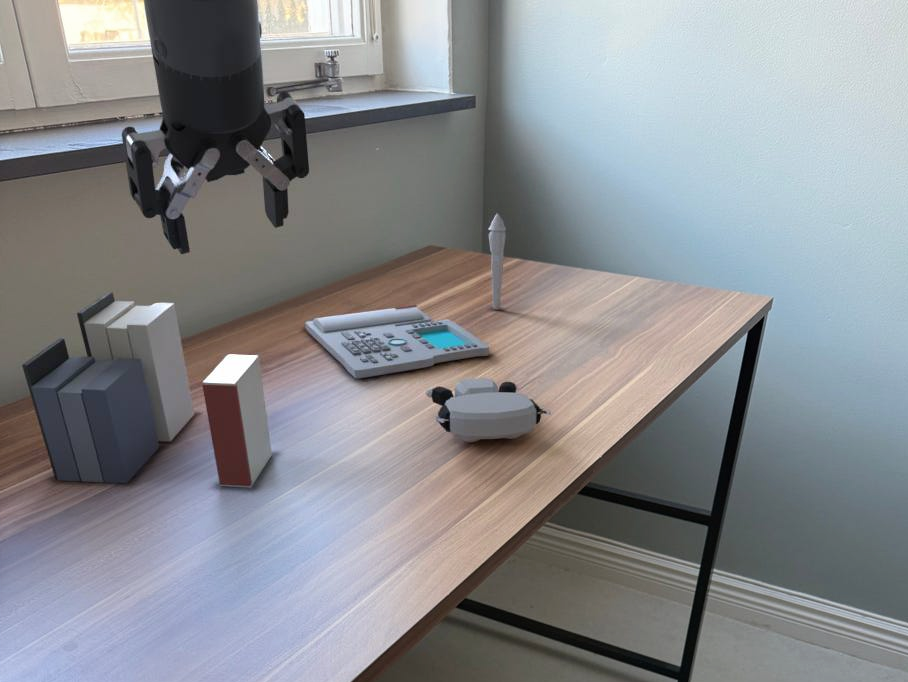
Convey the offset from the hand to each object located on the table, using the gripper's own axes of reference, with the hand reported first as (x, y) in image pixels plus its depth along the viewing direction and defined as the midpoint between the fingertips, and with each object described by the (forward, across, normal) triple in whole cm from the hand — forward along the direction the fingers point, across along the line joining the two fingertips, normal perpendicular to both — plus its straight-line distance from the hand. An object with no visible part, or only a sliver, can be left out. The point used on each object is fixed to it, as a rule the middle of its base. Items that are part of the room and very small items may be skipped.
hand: (228, 234), depth 78 cm
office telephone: (+41, -29, -18) cm, 54 cm away
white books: (+32, +8, -10) cm, 34 cm away
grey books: (+27, +15, -3) cm, 31 cm away
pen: (+47, -50, -22) cm, 72 cm away
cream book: (+25, +3, +5) cm, 26 cm away
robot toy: (+27, -24, +10) cm, 38 cm away
